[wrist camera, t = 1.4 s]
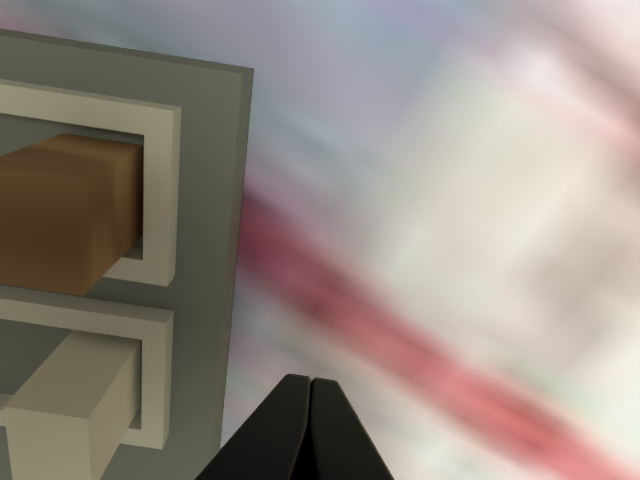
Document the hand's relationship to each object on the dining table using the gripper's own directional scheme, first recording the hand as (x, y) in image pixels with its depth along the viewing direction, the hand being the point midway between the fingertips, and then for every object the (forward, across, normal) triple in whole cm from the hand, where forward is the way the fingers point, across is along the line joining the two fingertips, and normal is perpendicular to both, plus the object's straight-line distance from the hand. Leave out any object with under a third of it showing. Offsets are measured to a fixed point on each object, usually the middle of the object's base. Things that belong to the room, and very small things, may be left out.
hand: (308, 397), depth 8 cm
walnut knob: (+8, +7, 0) cm, 11 cm away
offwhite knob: (+8, +7, +7) cm, 13 cm away
